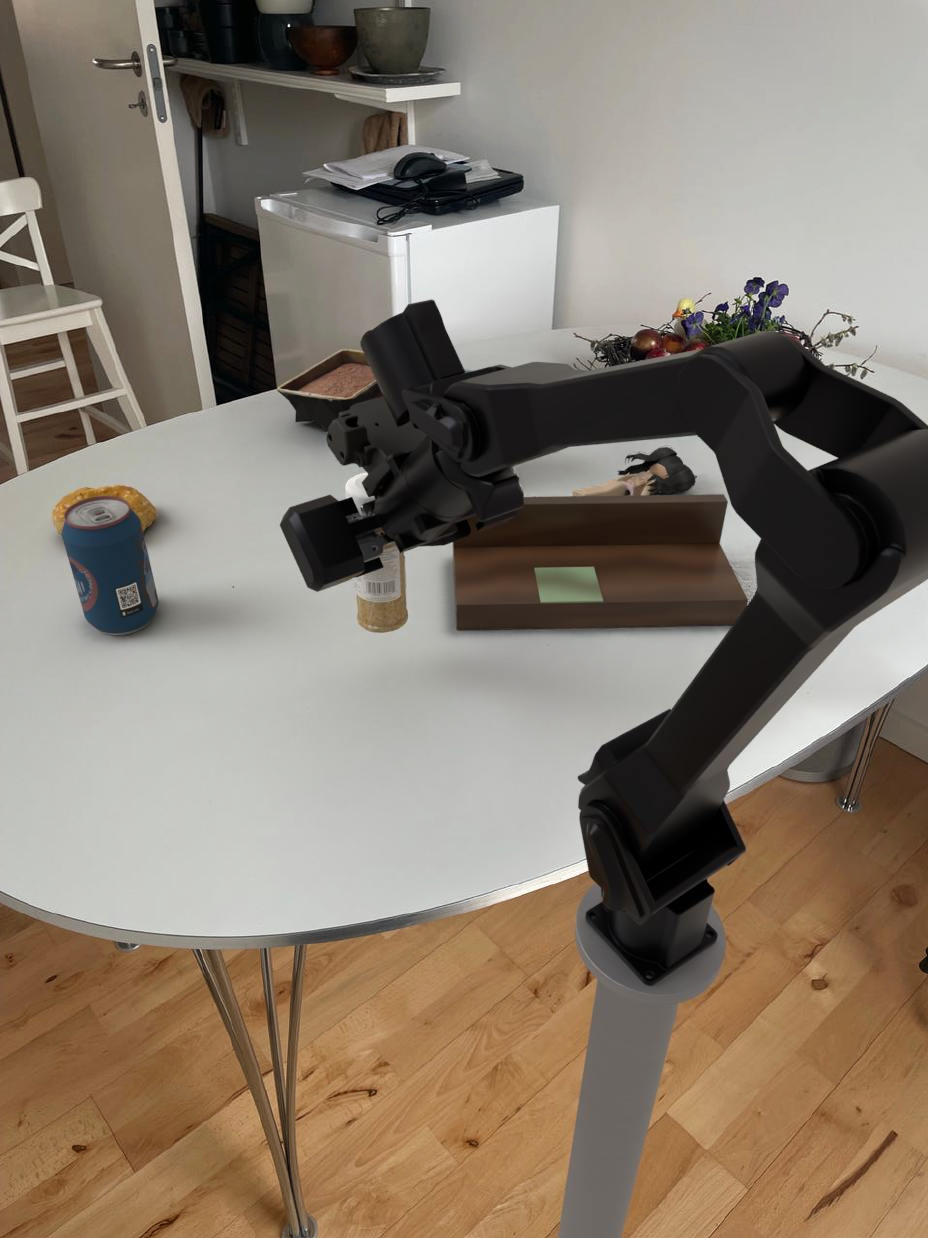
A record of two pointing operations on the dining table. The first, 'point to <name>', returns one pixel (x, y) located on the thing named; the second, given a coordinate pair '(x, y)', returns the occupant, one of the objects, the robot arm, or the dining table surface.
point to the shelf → (599, 565)
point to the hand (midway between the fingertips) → (370, 549)
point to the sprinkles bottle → (379, 578)
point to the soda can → (110, 564)
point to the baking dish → (331, 387)
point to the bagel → (130, 494)
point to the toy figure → (647, 477)
